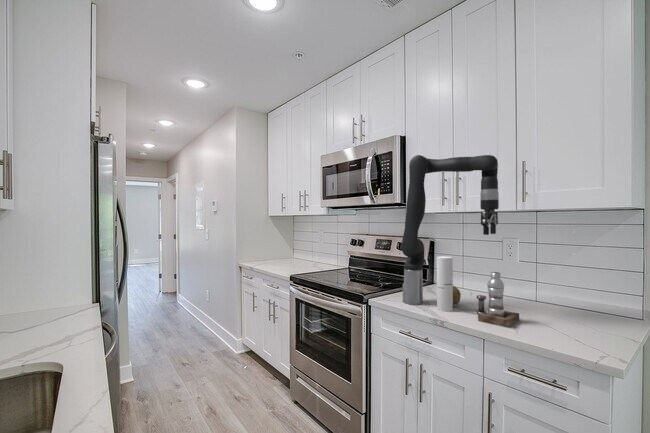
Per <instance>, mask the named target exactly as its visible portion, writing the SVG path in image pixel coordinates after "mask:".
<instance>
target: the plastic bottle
mask: <svg viewBox="0 0 650 433" xmlns="http://www.w3.org/2000/svg"><path fill="white" fill-rule="evenodd" d="M490 277H491V278H490V279H489V280H488V281H487V283H486V284H487V292H488V308H487V314H488V315H493V316H498V317H502V318H504V317H505V311H506V310H505V309H504V306H505V305H504V292H505V291H504V290H505V284H504V282H503V280H502V279H501V277H502V276H501V272H498V271H491V272H490Z"/></svg>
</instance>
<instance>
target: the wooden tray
mask: <svg viewBox="0 0 650 433" xmlns="http://www.w3.org/2000/svg"><path fill="white" fill-rule="evenodd" d="M504 311H505V317H504V318H502V317H498V316H493V315H488V313H486V314H483V313H479V314H477V322H482V323H486V324H490V325H494V326H495V325H496V326H498V327H499V326H500V327H504V328H508V329H509V328H511V327H513V326H514V325H515V324H517V323H518V322H519V321H520V313H519V312H515V311H514V312H513V311H508V310H504Z"/></svg>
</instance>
